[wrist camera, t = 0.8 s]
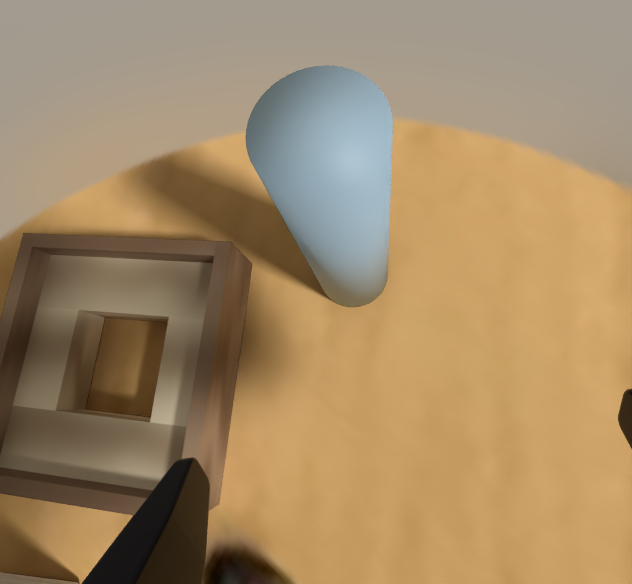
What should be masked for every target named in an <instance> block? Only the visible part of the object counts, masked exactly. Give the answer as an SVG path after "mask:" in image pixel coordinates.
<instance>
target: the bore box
mask: <svg viewBox="0 0 632 584" xmlns="http://www.w3.org/2000/svg"><path fill="white" fill-rule="evenodd" d="M251 269H252V263H251V262H250V261H249V260H248V259H247V258H246V257H245V256H244V255H243V254H242V253H241V252H240V251H239V250H238V249H237V248H236V247H235V246H234V245H233V244H232V242H223V241H199V240H175V239H151V238H127V237H104V236H80V235H56V234H32V233H23V237H22V241H21V245H20V248H19V252H18V256H17V259H16V263H15V267H14V270H13V274H12V278H11V282H10V285H9V289H8V293H7V296H6V300H5V304H4V308H3V311H2V315H1V319H0V493H1V494H8V495H14V496H20V497H26V498H32V499H38V500H44V501H50V502H56V503H62V504H68V505H74V506H80V507H86V508H92V509H98V510H104V511H111V512H117V513H123V514H129V515H134V514H135V513H136V512H137V511H138V509H139V508H140V507H141V505H142V504H143V503H144V501H145V500H146V499H147V497H148V496H149V495H150V494H151V492H152V491H153V490H154V488H155V487H156V486H157V484H158V483H159V482H160V480H161V479H162V478H163V477H164V475H165V474H166V473H167V471H168V470H169V469H170V467H171V466H172V465H173V464H174V462H176V461H177V460H179V459H184V458H191V457H194V458H196V459H197V460H198V462H199V464H200V465H201V467H202V469H203V470H204V472H205V474H206V475H207V477H208V479H209V483H210V496H209V510H211V509H212V508H214V507H215V506H217V505H218V504H219V500H220V493H221V486H222V479H223V471H224V464H225V457H226V450H227V443H228V435H229V428H230V421H231V414H232V406H233V399H234V392H235V385H236V378H237V370H238V363H239V356H240V349H241V341H242V334H243V327H244V320H245V313H246V305H247V298H248V291H249V284H250V276H251ZM105 317H106V318H118V319H131V320H144V321H157V322H168V324H167V330H166V336H165V341H164V347H163V352H162V358H161V363H160V369H159V375H158V380H157V386H156V391H155V397H154V402H153V408H152V414H151V417H143V416H135V415H126V414H118V413H110V412H102V411H93V410H85V408H86V404H87V399H88V394H89V390H90V385H91V380H92V376H93V371H94V366H95V362H96V357H97V352H98V348H99V343H100V338H101V334H102V329H103V324H104V320H105Z"/></svg>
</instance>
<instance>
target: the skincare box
mask: <svg viewBox="0 0 632 584" xmlns="http://www.w3.org/2000/svg"><path fill="white" fill-rule="evenodd" d="M0 584H79V583H77V582H71V581H64V580H56V579H48V578H41V577H33V576H25V575H19V574H10V573H3V572H0Z"/></svg>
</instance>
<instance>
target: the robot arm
mask: <svg viewBox="0 0 632 584" xmlns="http://www.w3.org/2000/svg"><path fill="white" fill-rule="evenodd" d="M618 421H619V425H620V428H621V430H622V432H623V433H624V435H625V437H626V439H627V441H628V443H629V445H630V447H631V449H632V389H628V390H626V391H625V392H624V394H623V398H622V402H621V406H620V410H619V415H618ZM209 496H210V483H209V479H208V477H207V475H206V474H205V472H204V470H203V469H202V467H201V465H200V464H199V462H198V460H197V459H196V458H194V457H191V458H184V459H179V460H177V461H176V462H174V464H173V465H172V466H171V467H170V469H169V470H168V471H167V473H166V474H165V475H164V477H163V478H162V479H161V480H160V482H159V483H158V484H157V486H156V487H155V488H154V490H153V491H152V492H151V494H150V495H149V496H148V497H147V499H146V500H145V501H144V503H143V504H142V505H141V507H140V508H139V509H138V511H137V512H136V513H135V514H134V516H133V517H132V518H131V520H130V521H129V522H128V524H127V525H126V526H125V528H124V529H123V530H122V531H121V533H120V534H119V535H118V537H117V538H116V539H115V541H114V542H113V543H112V545H111V546H110V547H109V548H108V550H107V551H106V552H105V554H104V555H103V556H102V558H101V559H100V560H99V562H98V563H97V564H96V565H95V567H94V568H93V569H92V571H91V572H90V573H89V575H88V576H87V577H86V579H85V580H84V581H83V582H82V584H202V579H203V573H204V566H205V557H206V544H207V528H208V512H209Z"/></svg>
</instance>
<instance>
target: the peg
mask: <svg viewBox="0 0 632 584" xmlns="http://www.w3.org/2000/svg"><path fill="white" fill-rule="evenodd" d="M392 134H393V119H392V113H391V109H390V106H389V103H388V101H387V99H386V97H385V95H384V94H383V92H382V91H381V90H380V88H379V87H378V86H377V85H376V84H375V83H374V82H373V81H371V80H370V79H368V78H367V77H366V76H364V75H362V74H361V73H359V72H356V71H354V70H351V69H348V68H344V67H337V66H315V67H310V68H305V69H303V70H299V71H296V72H294V73H292V74H289V75H287V76H286V77H284V78H282V79H280V80H279V81H278V82H276V83H275V84H273V85H272V86H271V87H270V88H269V89H268V90H267V91H266V92H265V93H264V94H263V95H262V97H261V98H260V99H259V100H258V102H257V103H256V105H255V107H254V109H253V110H252V113H251V115H250V118H249V121H248V124H247V129H246V147H247V152H248V155H249V158H250V161H251V163H252V165H253V166H254V168H255V170H256V172H257V173H258V175H259V177H260V179H261V181H262V182H263V184H264V186H265V188H266V189H267V191H268V193H269V195H270V197H271V198H272V200H273V202H274V204H275V205H276V207H277V209H278V211H279V213H280V214H281V216H282V218H283V220H284V221H285V223H286V225H287V227H288V229H289V230H290V232H291V234H292V236H293V237H294V239H295V241H296V243H297V245H298V246H299V248H300V250H301V252H302V253H303V255H304V257H305V259H306V261H307V262H308V264H309V266H310V268H311V269H312V271H313V273H314V275H315V277H316V278H317V280H318V282H319V284H320V285H321V287H322V289H323V291H324V292H325V294H326V295H327V296H328V297H329V298H330V299H331V300H332V301H333V302H335V303H337V304H339V305H342V306H346V307H360V306H364V305H366V304H369V303H370V302H372V301H373V300H375V299H376V298H377V297H378V296H379V295H380V294H381V293H382V291H383V289H384V287H385V285H386V282H387V276H388V250H389V221H390V192H391V163H392Z"/></svg>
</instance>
